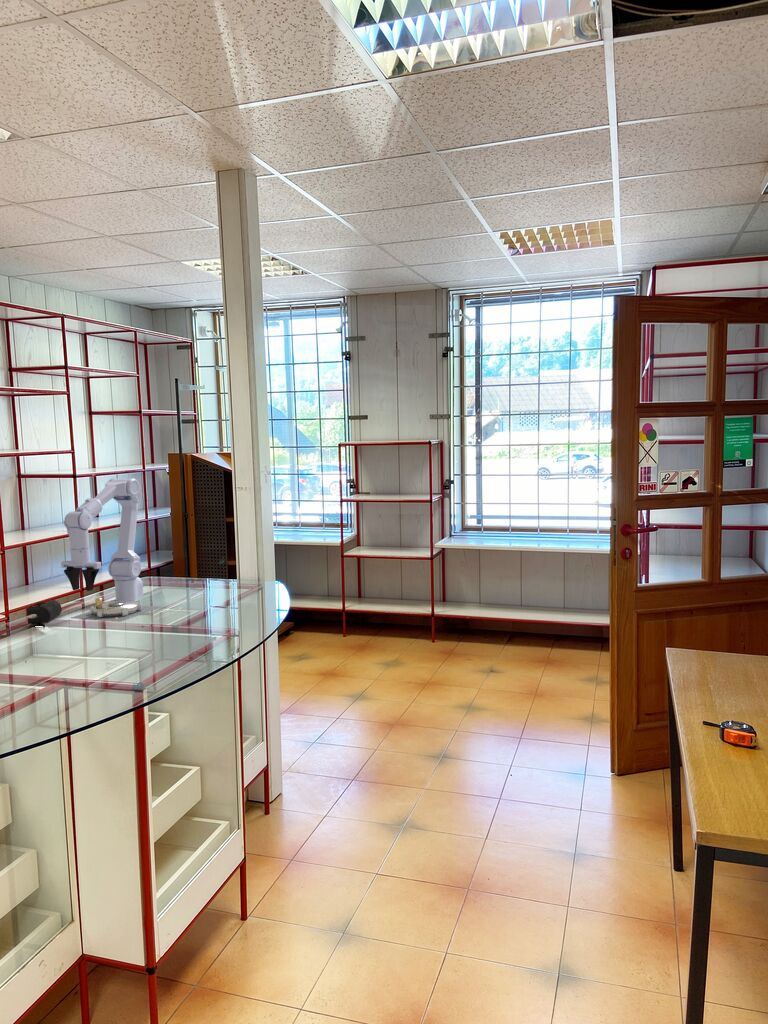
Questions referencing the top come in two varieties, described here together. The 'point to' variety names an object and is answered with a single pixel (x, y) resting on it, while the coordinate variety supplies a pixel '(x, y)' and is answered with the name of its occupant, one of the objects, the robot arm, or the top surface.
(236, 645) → the top surface
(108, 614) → the lugged metal disc
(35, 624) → the electric motor
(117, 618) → the base plate
